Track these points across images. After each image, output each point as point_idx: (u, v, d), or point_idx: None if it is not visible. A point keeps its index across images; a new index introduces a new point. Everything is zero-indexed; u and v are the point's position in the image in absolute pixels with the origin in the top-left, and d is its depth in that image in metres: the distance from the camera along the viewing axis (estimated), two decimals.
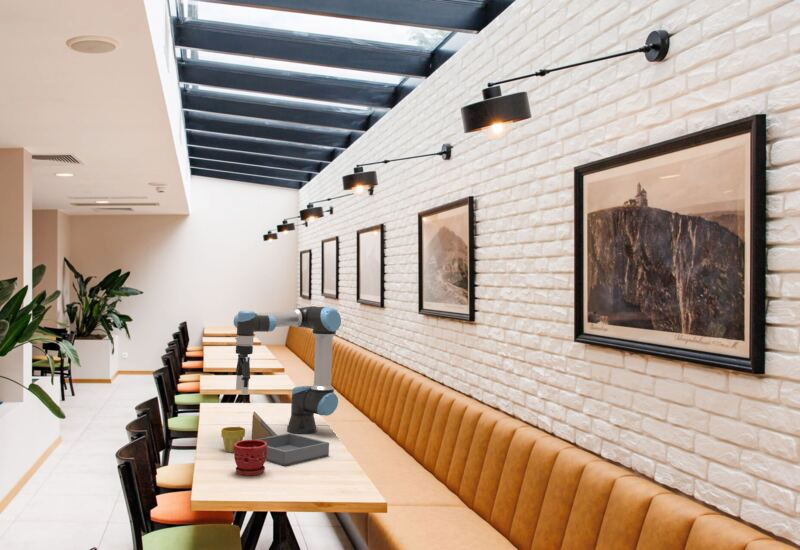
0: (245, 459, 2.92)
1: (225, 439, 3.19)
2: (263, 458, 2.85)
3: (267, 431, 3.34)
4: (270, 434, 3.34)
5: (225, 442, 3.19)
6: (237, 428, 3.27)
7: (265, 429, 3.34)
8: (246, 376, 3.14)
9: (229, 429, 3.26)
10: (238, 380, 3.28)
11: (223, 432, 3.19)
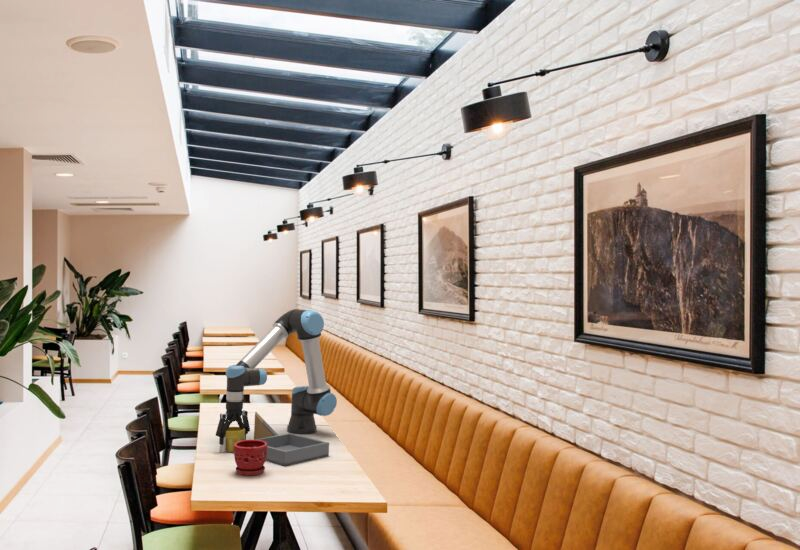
0: (245, 459, 2.92)
1: None
2: (263, 458, 2.85)
3: (269, 431, 3.33)
4: (272, 434, 3.34)
5: None
6: (237, 428, 3.27)
7: (267, 429, 3.33)
8: (217, 433, 3.16)
9: (229, 429, 3.26)
10: None
11: None
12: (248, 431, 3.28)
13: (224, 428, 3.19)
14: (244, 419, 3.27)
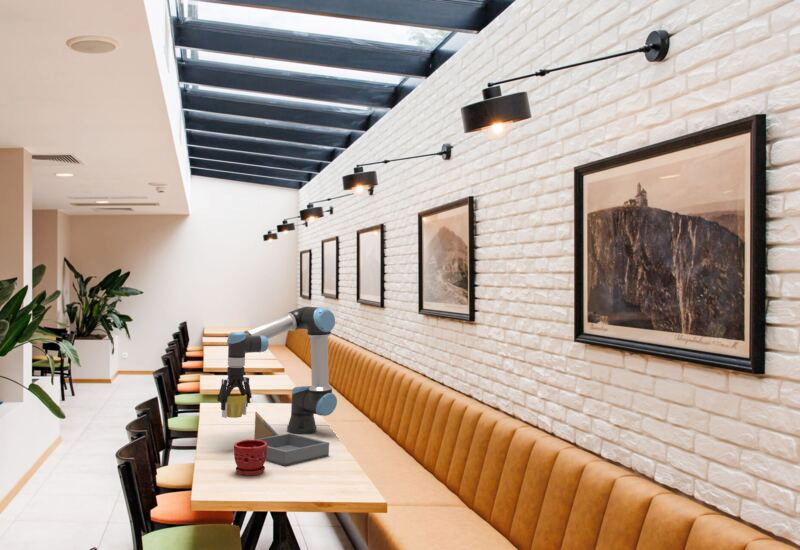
0: (245, 459, 2.92)
1: (227, 405, 3.19)
2: (263, 458, 2.85)
3: (270, 431, 3.33)
4: (273, 434, 3.34)
5: (227, 408, 3.20)
6: (239, 394, 3.27)
7: (268, 429, 3.33)
8: (218, 399, 3.17)
9: (231, 395, 3.27)
10: None
11: None
12: None
13: (226, 394, 3.19)
14: (246, 385, 3.27)
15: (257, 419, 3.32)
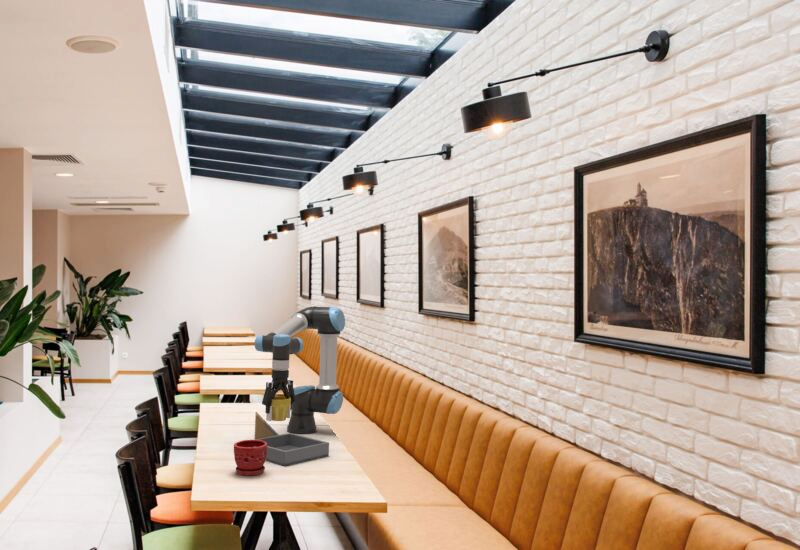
0: (245, 459, 2.92)
1: None
2: (263, 458, 2.85)
3: (271, 431, 3.33)
4: (274, 434, 3.34)
5: None
6: (282, 398, 3.23)
7: (269, 429, 3.33)
8: (263, 402, 3.12)
9: (274, 398, 3.22)
10: None
11: None
12: (294, 401, 3.24)
13: (270, 397, 3.15)
14: (290, 388, 3.23)
15: (258, 419, 3.32)
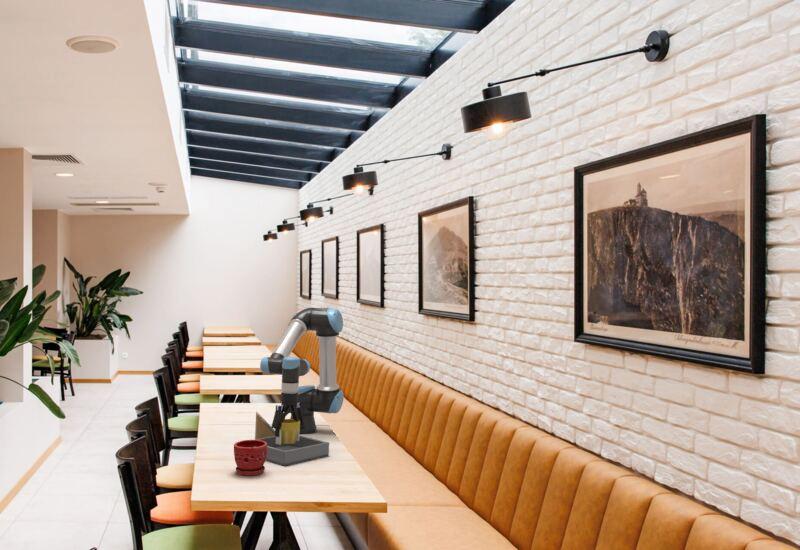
0: (245, 459, 2.92)
1: None
2: (263, 458, 2.85)
3: (272, 431, 3.34)
4: None
5: (281, 434, 3.14)
6: (291, 420, 3.22)
7: (270, 429, 3.33)
8: (273, 425, 3.11)
9: (283, 421, 3.21)
10: None
11: None
12: (302, 423, 3.23)
13: (280, 420, 3.13)
14: (298, 411, 3.22)
15: (258, 419, 3.32)
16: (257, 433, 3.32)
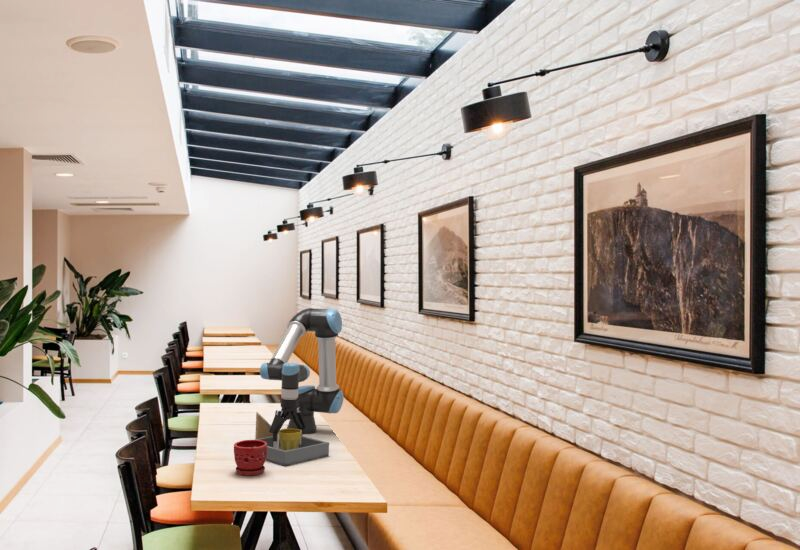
0: (245, 459, 2.92)
1: (282, 441, 3.15)
2: (263, 458, 2.85)
3: None
4: None
5: (282, 444, 3.15)
6: (293, 430, 3.23)
7: None
8: (270, 430, 3.10)
9: (285, 431, 3.22)
10: None
11: (280, 434, 3.15)
12: (305, 427, 3.24)
13: (278, 425, 3.13)
14: (299, 416, 3.23)
15: (259, 419, 3.32)
16: (258, 433, 3.32)
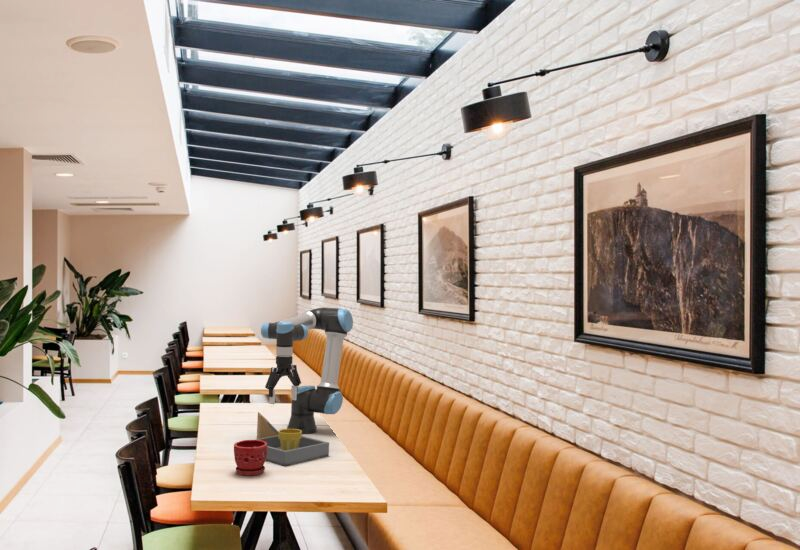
0: (245, 459, 2.92)
1: (282, 441, 3.15)
2: (263, 458, 2.85)
3: (275, 431, 3.34)
4: None
5: (282, 444, 3.15)
6: (293, 430, 3.23)
7: (273, 429, 3.33)
8: (266, 386, 3.20)
9: (285, 431, 3.22)
10: (292, 390, 3.33)
11: (280, 434, 3.15)
12: (299, 383, 3.34)
13: (274, 381, 3.23)
14: (294, 373, 3.33)
15: (262, 419, 3.32)
16: (260, 433, 3.31)
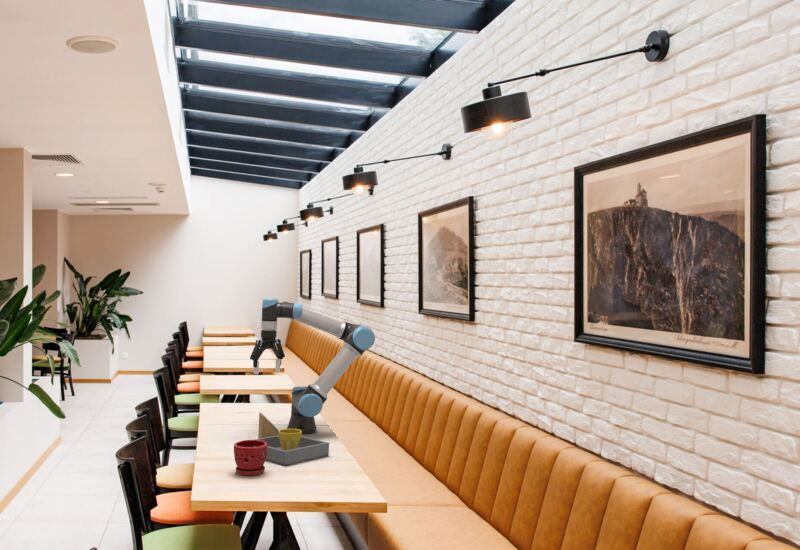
0: (245, 459, 2.92)
1: (282, 441, 3.15)
2: (263, 458, 2.85)
3: (277, 431, 3.34)
4: None
5: (282, 444, 3.15)
6: (293, 430, 3.23)
7: (275, 429, 3.34)
8: (251, 357, 3.43)
9: (285, 431, 3.22)
10: (276, 363, 3.56)
11: (280, 434, 3.15)
12: None
13: (258, 353, 3.45)
14: (278, 347, 3.55)
15: (264, 420, 3.31)
16: (262, 433, 3.31)
